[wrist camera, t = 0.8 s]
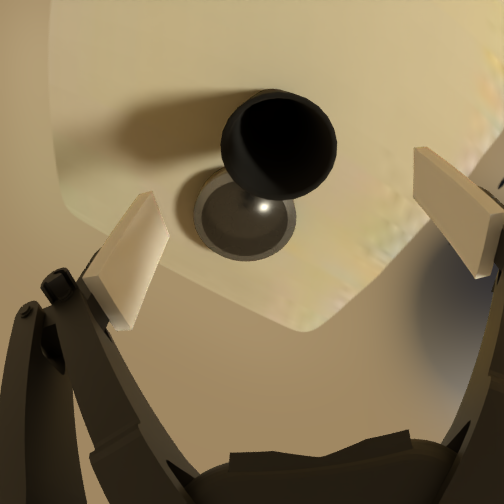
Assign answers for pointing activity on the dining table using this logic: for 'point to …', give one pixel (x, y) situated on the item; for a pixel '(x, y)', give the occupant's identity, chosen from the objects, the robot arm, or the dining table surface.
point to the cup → (278, 145)
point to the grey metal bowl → (241, 220)
